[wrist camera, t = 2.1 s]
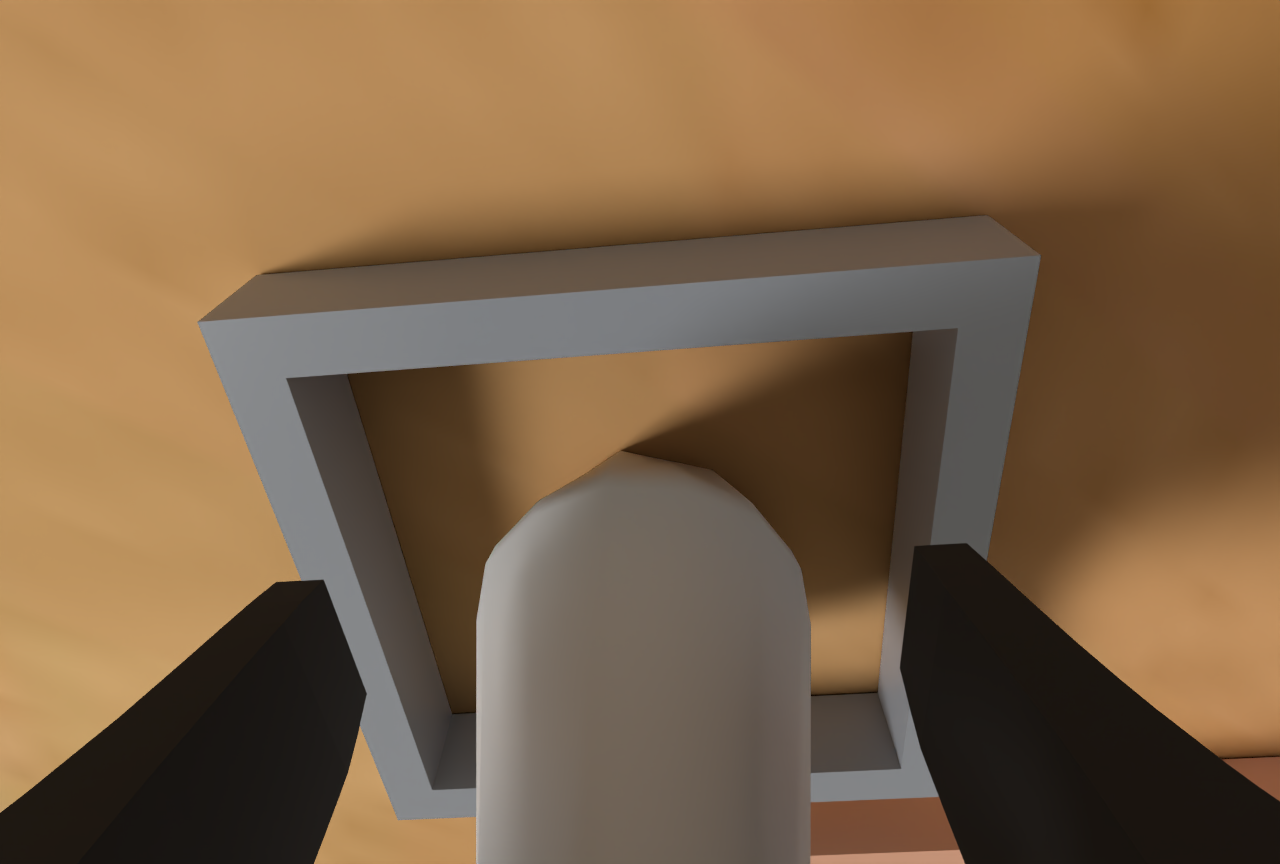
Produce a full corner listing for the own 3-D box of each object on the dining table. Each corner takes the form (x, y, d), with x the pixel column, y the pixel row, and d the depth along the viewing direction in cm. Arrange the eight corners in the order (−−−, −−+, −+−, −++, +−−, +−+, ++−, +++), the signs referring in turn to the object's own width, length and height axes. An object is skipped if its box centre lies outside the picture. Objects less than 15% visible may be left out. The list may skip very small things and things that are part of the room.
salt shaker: (526, 379, 14) (67, 1936, 3) (829, 444, 15) (1378, 1929, 4) (483, 613, 17) (170, 1841, 6) (737, 659, 18) (885, 1846, 7)
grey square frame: (987, 215, 13) (1040, 255, 11) (917, 719, 19) (944, 796, 17) (256, 274, 13) (197, 322, 11) (420, 743, 19) (398, 820, 18)
